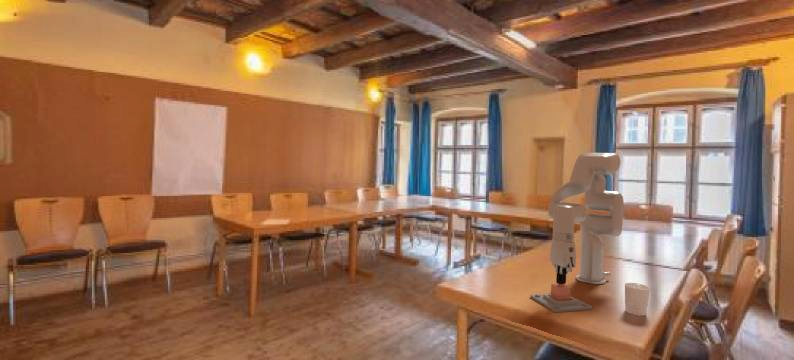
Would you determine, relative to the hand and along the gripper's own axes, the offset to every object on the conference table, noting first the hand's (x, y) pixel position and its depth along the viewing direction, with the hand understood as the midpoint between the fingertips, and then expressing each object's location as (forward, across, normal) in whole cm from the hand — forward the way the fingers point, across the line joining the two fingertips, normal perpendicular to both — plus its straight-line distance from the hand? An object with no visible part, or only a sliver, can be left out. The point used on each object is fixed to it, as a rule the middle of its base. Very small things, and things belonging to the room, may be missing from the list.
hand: (561, 283), depth 154 cm
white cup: (+8, -14, -22) cm, 27 cm away
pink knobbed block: (+7, 0, 0) cm, 7 cm away
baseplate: (+8, 0, 0) cm, 8 cm away
